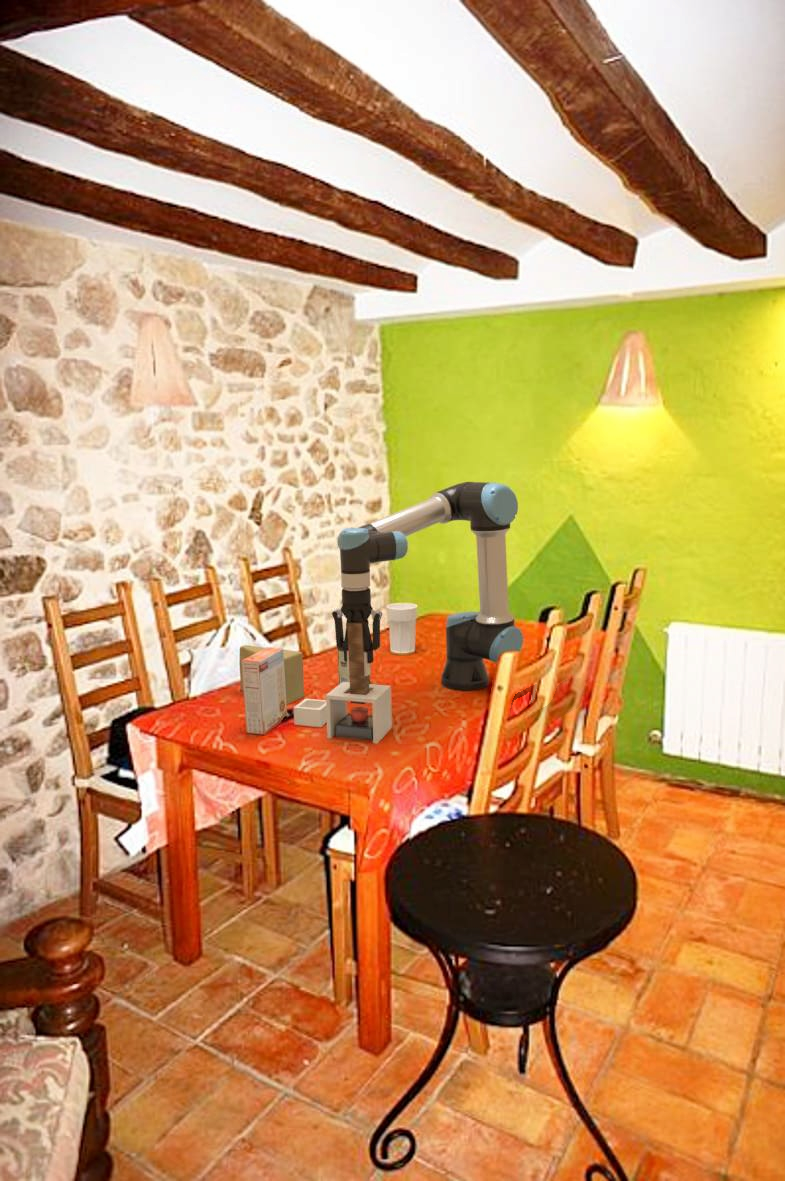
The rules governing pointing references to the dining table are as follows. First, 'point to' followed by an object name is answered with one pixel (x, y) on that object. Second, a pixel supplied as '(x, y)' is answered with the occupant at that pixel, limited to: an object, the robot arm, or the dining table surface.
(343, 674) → the coffee can
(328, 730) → the guard
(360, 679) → the brown wooden dowel
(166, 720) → the dining table surface
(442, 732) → the dining table surface
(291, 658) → the beige block
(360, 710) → the red round piece
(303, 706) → the holder
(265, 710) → the cracker box
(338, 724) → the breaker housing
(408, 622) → the cup
